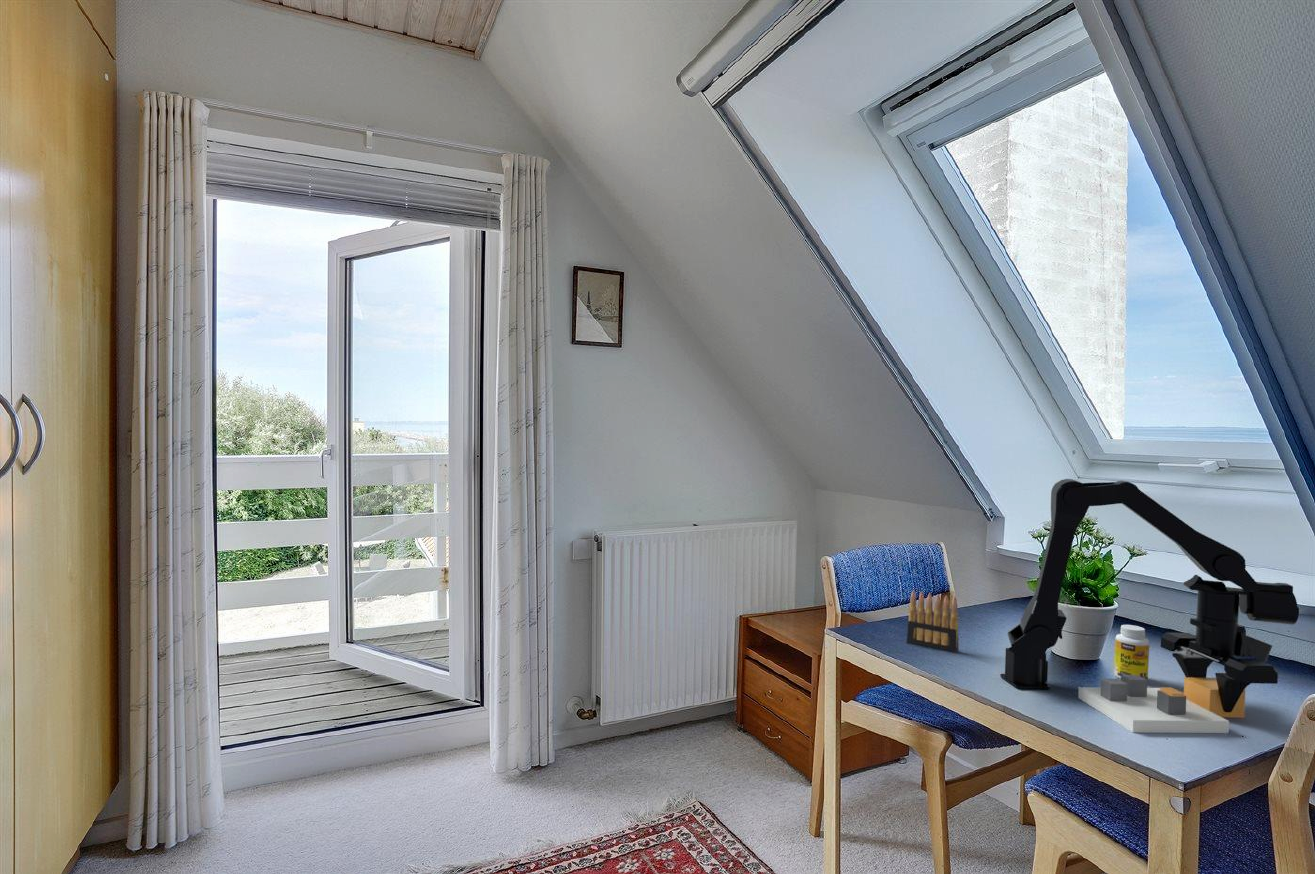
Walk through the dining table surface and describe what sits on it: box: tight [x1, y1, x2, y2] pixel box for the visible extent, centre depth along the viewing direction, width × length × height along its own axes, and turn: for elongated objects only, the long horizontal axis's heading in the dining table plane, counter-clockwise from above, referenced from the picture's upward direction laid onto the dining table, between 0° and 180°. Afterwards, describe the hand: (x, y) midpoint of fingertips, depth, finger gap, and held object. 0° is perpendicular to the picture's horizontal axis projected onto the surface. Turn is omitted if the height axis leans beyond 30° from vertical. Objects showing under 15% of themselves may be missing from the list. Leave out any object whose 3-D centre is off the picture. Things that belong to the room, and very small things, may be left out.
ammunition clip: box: [905, 589, 959, 654], centre depth 155 cm, size 11×2×12 cm, turn 53°
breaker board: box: [1077, 675, 1230, 734], centre depth 121 cm, size 16×14×5 cm
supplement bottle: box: [1113, 624, 1150, 681], centre depth 139 cm, size 6×6×10 cm
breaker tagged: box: [1157, 686, 1186, 714], centre depth 118 cm, size 3×3×4 cm
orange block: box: [1183, 676, 1246, 719], centre depth 124 cm, size 6×6×5 cm
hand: (1213, 704), depth 124 cm, fingers closed on orange block, 6 cm apart
